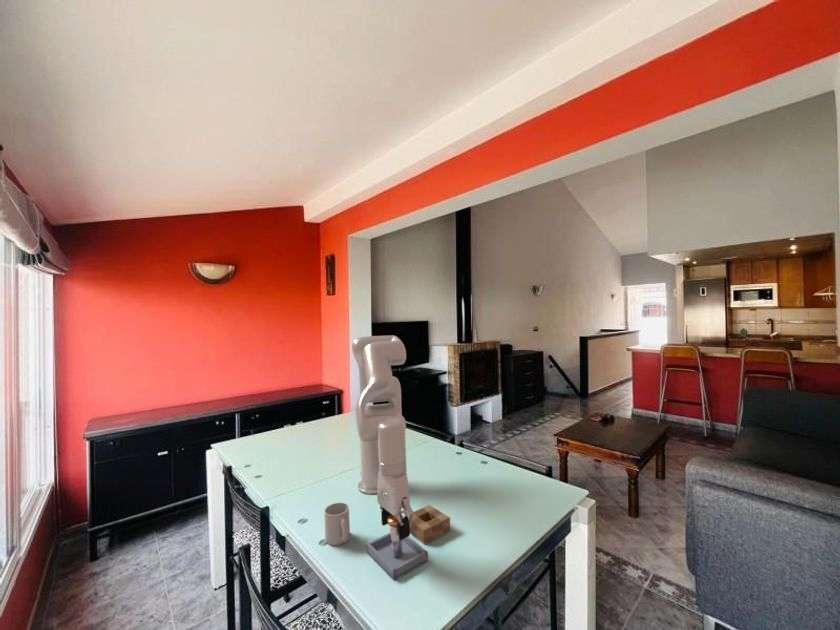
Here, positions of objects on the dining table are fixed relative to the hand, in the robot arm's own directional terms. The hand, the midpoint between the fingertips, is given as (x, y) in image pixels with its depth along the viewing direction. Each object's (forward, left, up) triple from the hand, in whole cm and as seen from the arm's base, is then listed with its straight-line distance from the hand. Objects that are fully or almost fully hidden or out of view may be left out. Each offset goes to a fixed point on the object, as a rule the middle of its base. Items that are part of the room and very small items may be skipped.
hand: (395, 529), depth 98 cm
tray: (0, 0, -7) cm, 7 cm away
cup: (-17, -9, -8) cm, 21 cm away
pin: (0, 0, -7) cm, 7 cm away
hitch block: (-4, +14, -7) cm, 16 cm away
